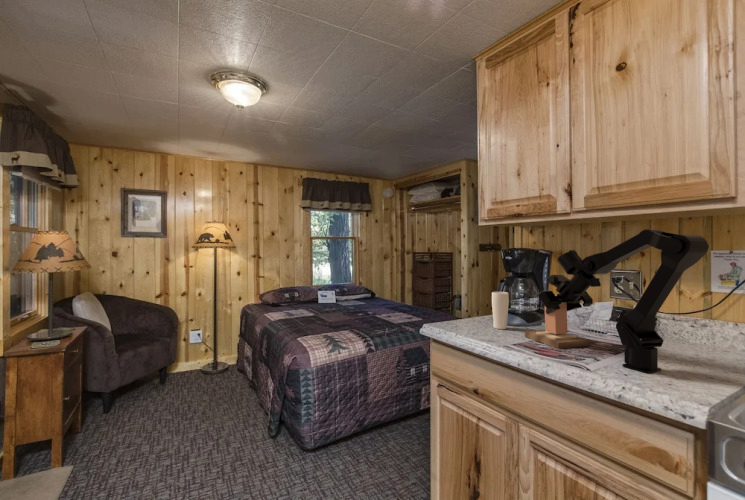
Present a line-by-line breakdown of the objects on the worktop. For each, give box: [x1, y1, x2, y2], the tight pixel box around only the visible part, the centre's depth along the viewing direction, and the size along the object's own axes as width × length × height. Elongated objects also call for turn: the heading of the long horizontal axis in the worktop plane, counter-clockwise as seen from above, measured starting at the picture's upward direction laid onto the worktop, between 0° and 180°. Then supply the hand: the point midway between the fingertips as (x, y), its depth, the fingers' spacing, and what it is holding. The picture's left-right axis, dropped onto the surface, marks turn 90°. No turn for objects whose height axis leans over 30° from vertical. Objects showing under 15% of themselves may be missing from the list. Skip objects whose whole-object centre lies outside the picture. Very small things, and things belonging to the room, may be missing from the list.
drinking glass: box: [491, 291, 510, 330], centre depth 146 cm, size 7×7×15 cm
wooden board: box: [524, 329, 590, 349], centre depth 125 cm, size 16×13×2 cm
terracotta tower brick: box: [544, 294, 569, 334], centre depth 125 cm, size 5×5×13 cm
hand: (552, 312), depth 126 cm, fingers closed on terracotta tower brick, 5 cm apart
